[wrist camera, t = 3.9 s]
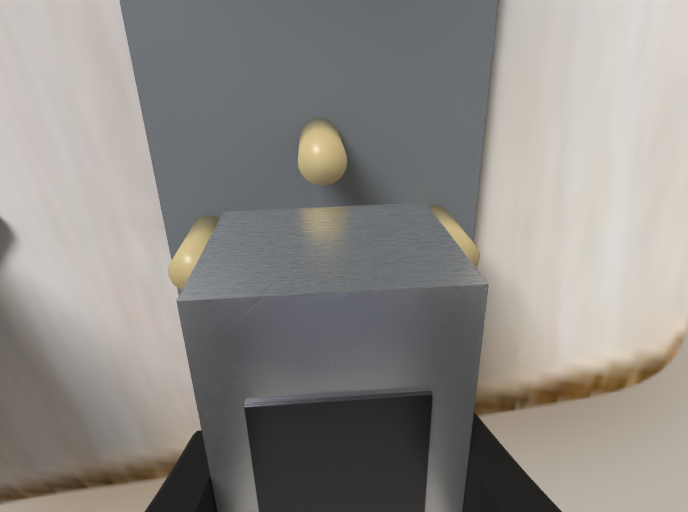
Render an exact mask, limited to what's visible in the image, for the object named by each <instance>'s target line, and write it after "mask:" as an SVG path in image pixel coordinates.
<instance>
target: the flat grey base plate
mask: <svg viewBox="0 0 688 512" xmlns="http://www.w3.org/2000/svg"><path fill="white" fill-rule="evenodd" d="M120 5H121V10H122V15H123V20H124V25H125V30H126V35H127V40H128V45H129V50H130V55H131V60H132V65H133V70H134V75H135V80H136V85H137V90H138V95H139V100H140V105H141V110H142V115H143V120H144V125H145V130H146V135H147V140H148V145H149V150H150V155H151V160H152V165H153V170H154V175H155V180H156V185H157V189H158V194H159V199H160V204H161V209H162V214H163V219H164V224H165V229H166V234H167V239H168V244H169V249H170V254H171V259H172V261H171V262H170V265H169V268H168V273H169V277H170V279H171V281H172V283H173V284H174V285H175V286H176V287H177V289H178V294H179V296H180V294H181V292H182V290H183V288H184V286H185V284H186V282H187V280H188V278H189V277H190V275H191V273H192V271H193V269H194V267H195V265H196V263H197V261H198V259H199V258H200V256H201V254H202V252H203V250H204V248H205V246H206V244H207V242H208V240H209V239H210V237H211V235H212V233H213V231H214V229H215V227H216V225H217V223H218V221H219V220H220V218H221V216H222V214H223V212H228V211H251V210H274V209H296V208H319V207H342V206H364V205H387V204H409V203H426V204H427V205H428V206H429V208H430V209H431V210H432V212H433V213H434V214H435V215H436V217H437V218H438V219H439V221H440V222H441V223H442V225H443V226H444V227H445V228H446V230H447V231H448V232H449V234H450V235H451V236H452V238H453V239H454V240H455V241H456V243H457V244H458V245H459V247H460V248H461V249H462V250H463V252H464V253H465V254H466V256H467V257H468V258H469V260H470V261H471V262H472V263H473V265H474V266H475V267H477V265H478V263H479V258H480V254H479V250H478V248H477V246H476V245H475V244H474V243H473V234H474V224H475V215H476V206H477V196H478V187H479V177H480V168H481V158H482V149H483V139H484V130H485V120H486V111H487V102H488V92H489V83H490V73H491V64H492V54H493V45H494V35H495V26H496V17H497V7H498V0H120ZM198 418H199V414H198ZM199 420H200V419H199Z"/></svg>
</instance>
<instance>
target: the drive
mask: <svg viewBox="0 0 688 512" xmlns="http://www.w3.org/2000/svg"><path fill="white" fill-rule="evenodd" d="M487 292H488V283H487V282H486V280H485V279H484V278H483V276H482V275H481V274H480V273H479V271H478V270H477V269H476V267H475V266H474V265H473V263H472V262H471V261H470V260H469V258H468V257H467V256H466V254H465V253H464V252H463V250H462V249H461V248H460V247H459V245H458V244H457V243H456V241H455V240H454V239H453V238H452V236H451V235H450V234H449V232H448V231H447V230H446V228H445V227H444V226H443V225H442V223H441V222H440V221H439V219H438V218H437V217H436V215H435V214H434V213H433V212H432V210H431V209H430V208H429V206H428V205H427V204H426V203H409V204H387V205H364V206H342V207H319V208H296V209H274V210H251V211H228V212H223V214H222V216H221V218H220V220H219V221H218V223H217V225H216V227H215V229H214V231H213V233H212V235H211V237H210V239H209V240H208V242H207V244H206V246H205V248H204V250H203V252H202V254H201V256H200V258H199V259H198V261H197V263H196V265H195V267H194V269H193V271H192V273H191V275H190V277H189V278H188V280H187V282H186V284H185V286H184V288H183V290H182V292H181V294H180V296H179V297H178V299H177V306H178V311H179V316H180V321H181V326H182V331H183V337H184V342H185V347H186V352H187V357H188V362H189V368H190V373H191V378H192V383H193V388H194V393H195V398H196V404H197V409H198V414H199V419H200V424H201V429H202V435H203V440H204V445H205V450H206V455H207V460H208V466H209V471H210V476H211V481H212V486H213V491H214V497H215V502H216V507H217V512H462V510H463V501H464V492H465V484H466V475H467V466H468V458H469V449H470V440H471V432H472V423H473V414H474V406H475V397H476V388H477V379H478V371H479V362H480V353H481V345H482V336H483V327H484V319H485V310H486V301H487Z"/></svg>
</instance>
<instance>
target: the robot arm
mask: <svg viewBox="0 0 688 512" xmlns="http://www.w3.org/2000/svg"><path fill="white" fill-rule="evenodd" d="M145 512H217V507H216V502H215V497H214V491H213V486H212V481H211V476H210V471H209V466H208V460H207V455H206V450H205V445H204V440H203V435H202V431H197V432H196V433H195V434H194V435H193V436H192V438H191V439H190V441H189V443H188V444H187V446H186V448H185V449H184V451H183V453H182V454H181V456H180V458H179V459H178V461H177V463H176V464H175V466H174V468H173V469H172V471H171V472H170V474H169V476H168V477H167V479H166V480H165V482H164V483H163V485H162V487H161V488H160V490H159V491H158V493H157V495H156V496H155V497H154V499H153V500H152V502H151V503H150V505H149V506H148V508H147V509H146V511H145ZM462 512H561V510H560V509H559V508H558V507H557V506H556V505H555V504H554V503H553V502H552V501H551V500H550V499H549V498H548V497H547V495H546V494H545V493H544V492H543V491H542V490H541V489H540V488H539V487H538V486H537V485H536V483H535V482H534V481H533V480H532V479H531V478H530V477H529V476H528V475H527V474H526V472H525V471H524V470H523V469H522V468H521V467H520V466H519V465H518V463H517V462H516V461H515V460H514V459H513V458H512V457H511V455H510V454H509V453H508V452H507V451H506V450H505V448H504V447H503V446H502V445H501V444H500V443H499V441H498V440H497V439H496V438H495V436H494V435H493V434H492V433H491V432H490V430H489V429H488V428H487V427H486V426H485V424H484V423H483V422H482V421H481V419H480V418H479V417H478V416H477V415H476V414H475V413H474V414H473V423H472V432H471V440H470V449H469V458H468V466H467V475H466V484H465V492H464V501H463V510H462Z"/></svg>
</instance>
